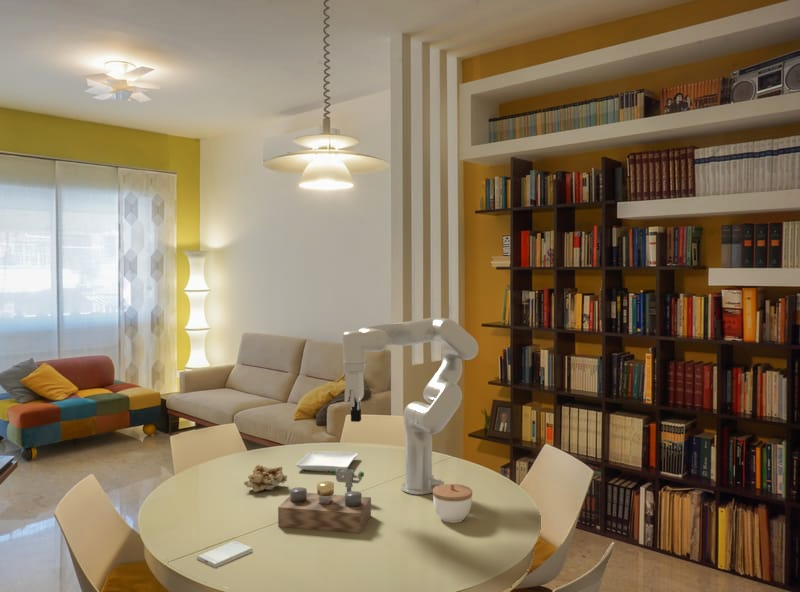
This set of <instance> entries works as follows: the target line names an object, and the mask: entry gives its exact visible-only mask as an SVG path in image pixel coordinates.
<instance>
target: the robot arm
mask: <svg viewBox="0 0 800 592" xmlns="http://www.w3.org/2000/svg"><path fill="white" fill-rule="evenodd" d="M431 342H440V350H441V351H440V352H441V356H442V360H441V364H440V366H439V368H438V370H437V371H436V372H435V374H434V375H433V376H432V377H431V379H430V380H429V382H428V383H427V384H426V386H425V387H424V389H423V393H422V394H423V395H422V396H423V398H424V400H425V401H426V402H427V403H426V402H423V401H413V402H410V403H408V404H407V405H406V406H405V408H404V411H403V414H402V415H403V416H402V417H403V424H404V432H405V482H403V483H402V484H401V485H400V486H401V490H402V491H403V492H405V494H411V495H428V494H431V493H432V494H433V489H434V488H435V487H436V486H439V485H444V484H445V481H443V480H442V479H436V478H435V477H434V476H435V475H434V474H433V436H432V435H435V434H438V433H440V432H441V431H443V429H444V428H445V427H446V425H448V423H449V421H450V420H451V419H452V417H453V416H454V415H455V413H456V411H457V410H458V409H459V407H460V406H461V404H462V400H463V392H462V389H461V387H460V386H459V384H458V382H459V380H460V379H461V377H462V374H463V363H462V360H464V361H469V360H473V359H475V357H477V355H478V353H479V344H478V342H477V340H476V339H475V337H473V336H472V335H471V334H470V333H469V332H468V331H466V329H464V328H463V327H462V326H461V325H460V324H458V323H457V322H456V321H454V320H453V319H451V318H447V317H446V318H444V317H436V316H435V317H428V318H422V319H417V320H409V321H401V322H393V323H386V324H378V325H376V324H375V325H371V326H364V327H362V328H359V329H358V330H349V331H348V330H347V331H344V332H343V333H342V359H343V360H342V361H343V362H342V364H343V365H342V366H343V373H344V374H345V375H344V402H345V403H348V402H349V405H350V406H349V407H350V421H351V422H353V423H356V422H358V423H359V422H361V421H362V408H361V407H362V406H361V405H362V404H361V403H362V401H361V400H362V399H363V398H364V395H365V386H364V385H365V384H364V383H365V382H364V381H365V380H364V373H365V372H366V367H367V366H366V352H381V351H384V350H385V349H386V348H387V347H388V345H391V346H392V345H393V346H413V345H415V346H416V345H418V344H424V343H425V344H426V343H431ZM428 403H429V404H428Z"/></svg>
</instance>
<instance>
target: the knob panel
mask: <svg viewBox="0 0 800 592" xmlns="http://www.w3.org/2000/svg"><path fill="white" fill-rule="evenodd" d="M277 513H278V514H277V515H278V516H277V517H278V519H277V520H278V522H277V525H278V527H279V528H280V527H281V528H293V529H306V530H318V531H327V532H328V531H331V532H342V533H343V532H344V533H351V534H352V533H353V534H354V533H355V534H361V532H362V531H363V529H364V528H365V526H366V524H367V522H368V521H369V519H371V516H372V497H371V496H362V504H361V505H359V506H358V507H350V506H346V505H345V494H343V495H341V494H333V495H332V503H331V504H330V505H325V504H319V495H318V494H317V492H316V493H313V492H307V500H306V501H304V502H303V503H298V502H292V501H290V496H288V497H287V498H286V499H285V500H284V501H283V502H282V503H280V505H279V506H277Z"/></svg>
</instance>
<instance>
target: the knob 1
mask: <svg viewBox="0 0 800 592" xmlns="http://www.w3.org/2000/svg"><path fill="white" fill-rule="evenodd" d="M307 493H308V490H307V488H306V487H302V486H301V487H299V486H298V487H293V488H291V489H290V490H289V497H290V501H292V502H298V503H303V502H304V501H306V500H307Z"/></svg>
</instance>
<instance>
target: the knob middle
mask: <svg viewBox="0 0 800 592" xmlns="http://www.w3.org/2000/svg"><path fill="white" fill-rule="evenodd" d="M316 491H317V492H316V493H317V494H318V495H319V504H325V505H330V504H331V503H332V495H335V483H334V482H332V481H328V480H325V481H319V482H317V484H316Z"/></svg>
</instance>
